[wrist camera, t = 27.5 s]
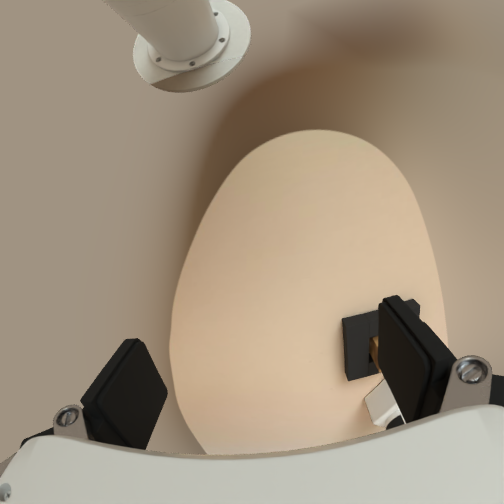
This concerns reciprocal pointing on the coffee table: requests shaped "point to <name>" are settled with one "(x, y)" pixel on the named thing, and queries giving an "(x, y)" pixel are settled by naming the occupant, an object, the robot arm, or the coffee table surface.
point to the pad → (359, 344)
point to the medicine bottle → (384, 407)
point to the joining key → (374, 350)
